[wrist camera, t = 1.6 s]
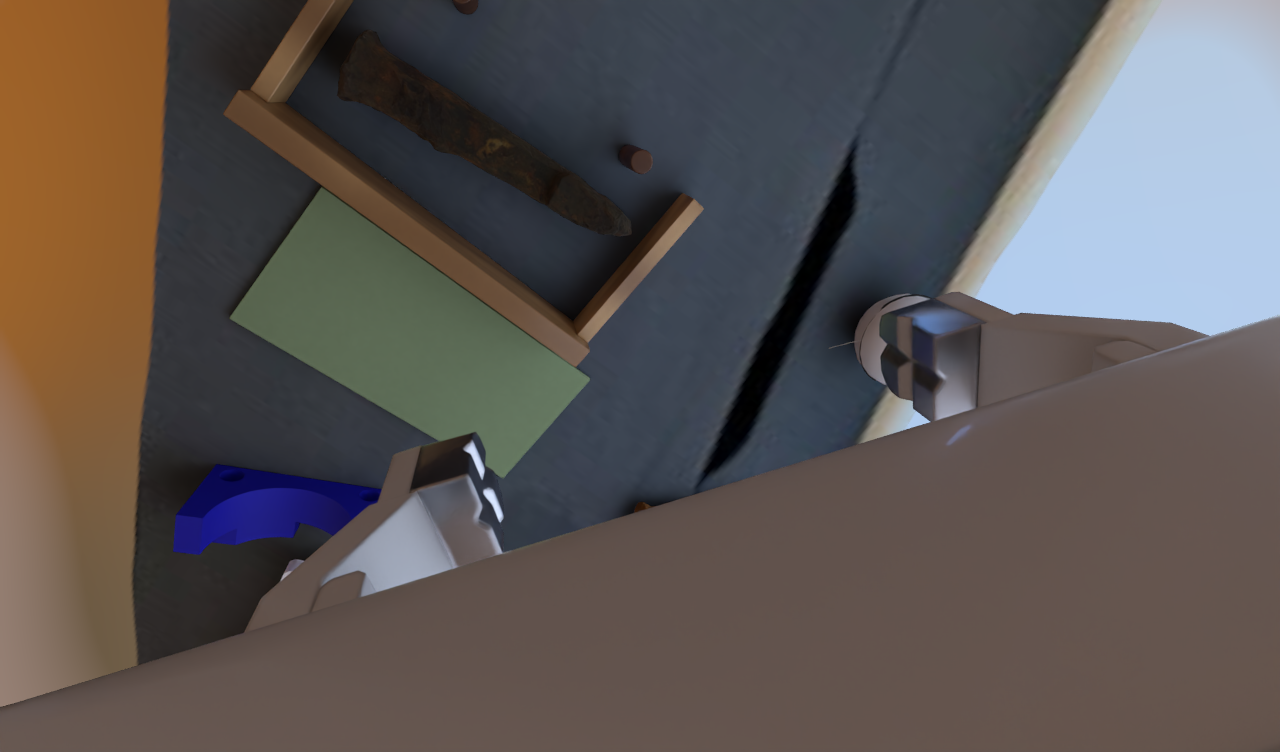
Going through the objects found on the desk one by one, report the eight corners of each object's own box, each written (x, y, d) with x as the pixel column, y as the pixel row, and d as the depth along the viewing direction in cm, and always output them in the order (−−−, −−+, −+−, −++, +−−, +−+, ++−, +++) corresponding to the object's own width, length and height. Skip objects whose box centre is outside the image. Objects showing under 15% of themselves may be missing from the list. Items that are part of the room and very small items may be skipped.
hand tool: (342, 92, 36) (320, 92, 32) (372, 29, 35) (354, 21, 31) (604, 259, 43) (614, 276, 39) (635, 211, 42) (648, 224, 38)
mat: (323, 185, 38) (321, 186, 37) (589, 377, 47) (590, 379, 46) (231, 316, 40) (228, 318, 40) (503, 475, 49) (503, 478, 49)
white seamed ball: (931, 287, 49) (996, 316, 43) (900, 369, 52) (956, 408, 46) (824, 271, 47) (874, 298, 40) (797, 358, 50) (840, 397, 43)
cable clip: (211, 513, 45) (172, 569, 40) (216, 464, 44) (176, 514, 38) (380, 535, 49) (364, 589, 44) (389, 490, 47) (374, 540, 42)
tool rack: (388, -92, 33) (371, -118, 29) (692, 202, 43) (711, 212, 39) (254, 112, 35) (222, 113, 31) (569, 344, 45) (575, 368, 41)
